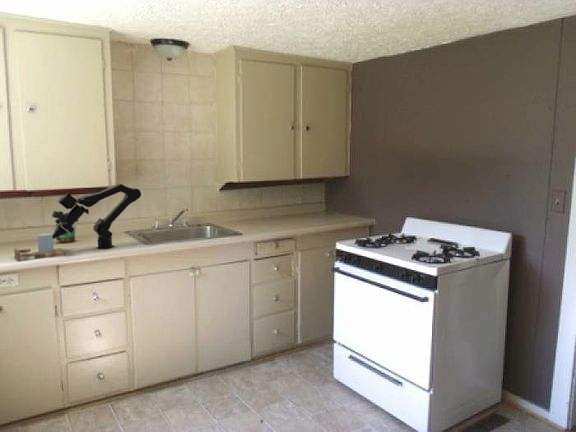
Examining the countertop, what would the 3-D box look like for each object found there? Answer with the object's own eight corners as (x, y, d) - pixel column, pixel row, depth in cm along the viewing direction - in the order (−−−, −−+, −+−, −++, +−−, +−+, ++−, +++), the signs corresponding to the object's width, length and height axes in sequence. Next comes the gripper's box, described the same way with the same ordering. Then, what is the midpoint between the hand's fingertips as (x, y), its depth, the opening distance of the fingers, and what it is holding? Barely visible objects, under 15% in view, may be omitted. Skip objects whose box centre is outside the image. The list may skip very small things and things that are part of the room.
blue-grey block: (51, 250, 242) (50, 233, 241) (53, 252, 238) (52, 234, 237) (38, 251, 238) (37, 234, 237) (40, 253, 234) (39, 236, 233)
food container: (56, 244, 264) (54, 227, 262) (54, 243, 269) (52, 225, 267) (79, 242, 271) (78, 225, 269) (77, 240, 276) (76, 223, 274)
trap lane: (60, 251, 248) (59, 243, 247) (65, 255, 238) (64, 247, 238) (14, 256, 235) (14, 248, 235) (18, 261, 226) (17, 253, 225)
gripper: (57, 203, 247) (35, 225, 242) (65, 206, 233) (42, 230, 228) (74, 216, 253) (53, 239, 248) (83, 221, 238) (61, 244, 233)
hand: (52, 238), depth 239 cm, fingers closed, pressing on blue-grey block
